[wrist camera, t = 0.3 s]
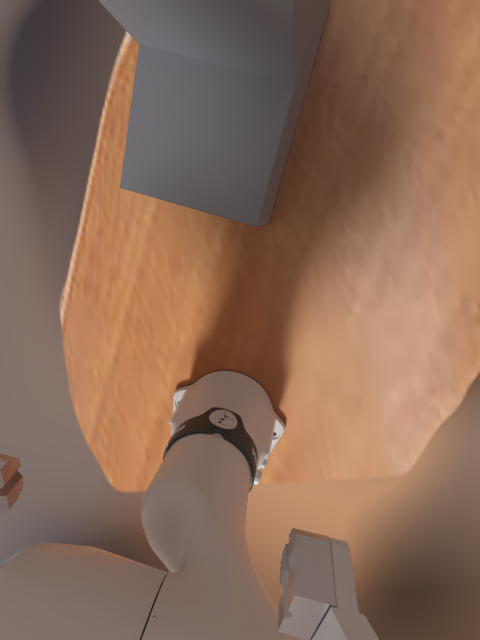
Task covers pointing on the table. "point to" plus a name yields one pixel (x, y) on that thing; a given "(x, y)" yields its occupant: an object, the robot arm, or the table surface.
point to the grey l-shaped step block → (217, 99)
